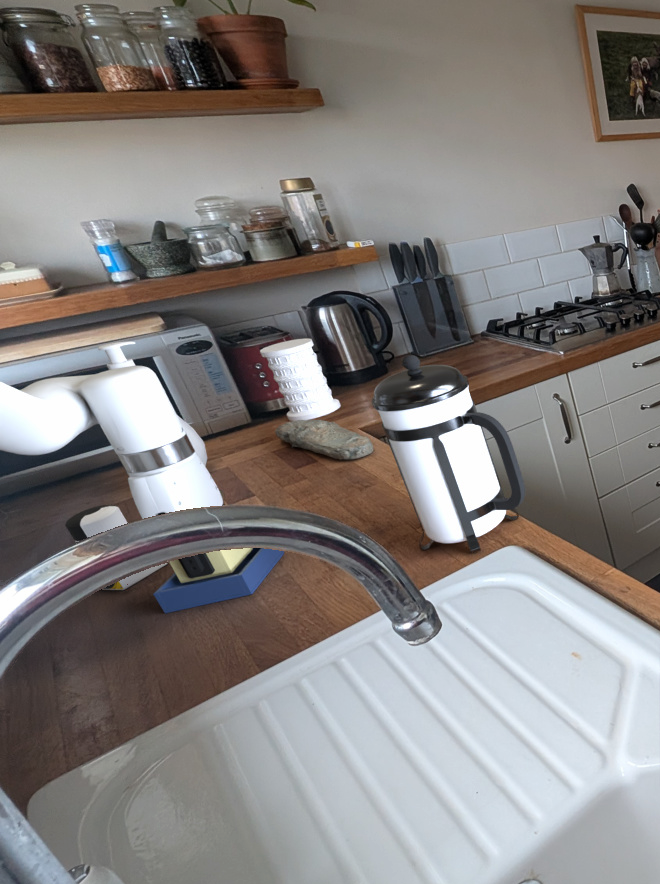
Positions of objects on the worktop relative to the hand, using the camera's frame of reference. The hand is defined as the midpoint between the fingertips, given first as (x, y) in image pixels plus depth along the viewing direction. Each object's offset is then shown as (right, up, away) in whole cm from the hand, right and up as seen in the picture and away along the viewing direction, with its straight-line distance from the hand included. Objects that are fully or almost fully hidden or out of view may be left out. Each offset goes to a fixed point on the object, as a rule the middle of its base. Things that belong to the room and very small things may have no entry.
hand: (215, 560), depth 101 cm
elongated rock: (-18, +16, +50) cm, 55 cm away
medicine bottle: (-19, -4, +6) cm, 20 cm away
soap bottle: (-43, +9, +42) cm, 61 cm away
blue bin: (+1, -4, +2) cm, 4 cm away
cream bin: (0, -1, 0) cm, 1 cm away
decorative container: (-37, +23, +73) cm, 85 cm away
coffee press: (+36, +3, +7) cm, 37 cm away
